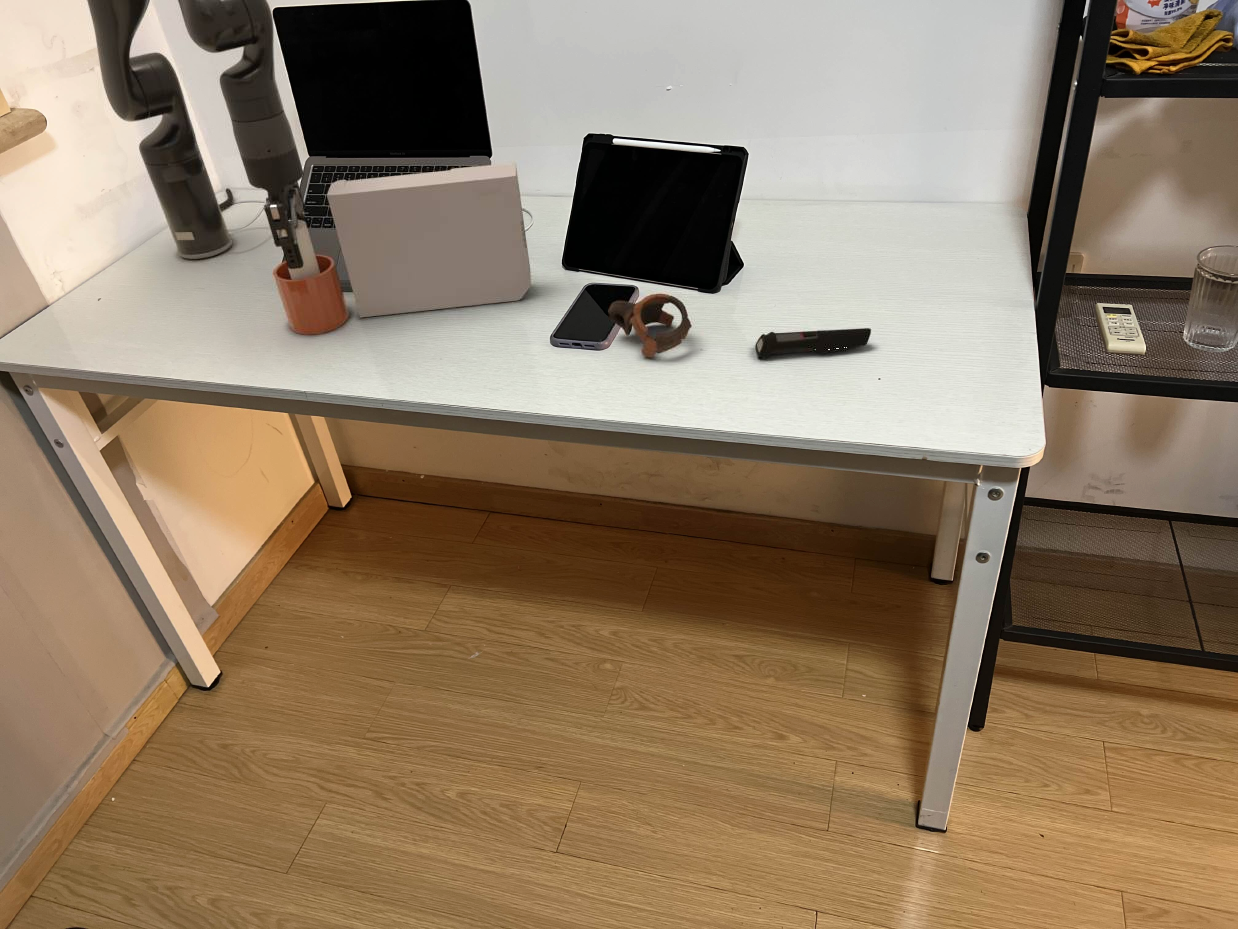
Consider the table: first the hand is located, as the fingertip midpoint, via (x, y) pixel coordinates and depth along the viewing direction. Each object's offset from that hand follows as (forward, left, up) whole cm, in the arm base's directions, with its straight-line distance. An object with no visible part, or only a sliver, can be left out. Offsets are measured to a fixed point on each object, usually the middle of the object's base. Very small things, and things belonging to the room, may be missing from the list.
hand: (300, 255), depth 138 cm
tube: (0, 0, -11) cm, 11 cm away
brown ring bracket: (+20, +49, -11) cm, 54 cm away
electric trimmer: (+28, +70, -11) cm, 76 cm away
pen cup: (0, 0, -11) cm, 11 cm away
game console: (-1, +20, -11) cm, 23 cm away
